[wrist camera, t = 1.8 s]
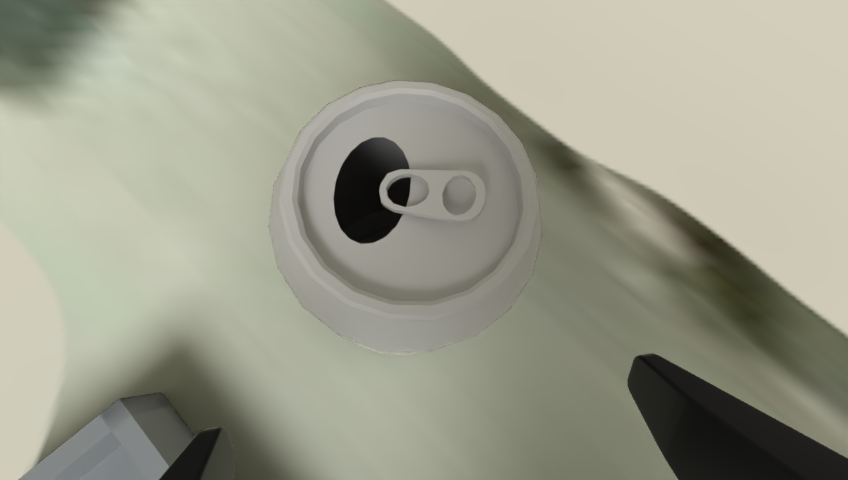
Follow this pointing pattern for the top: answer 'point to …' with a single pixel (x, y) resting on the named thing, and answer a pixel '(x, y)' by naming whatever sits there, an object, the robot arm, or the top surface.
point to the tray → (120, 444)
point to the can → (406, 217)
